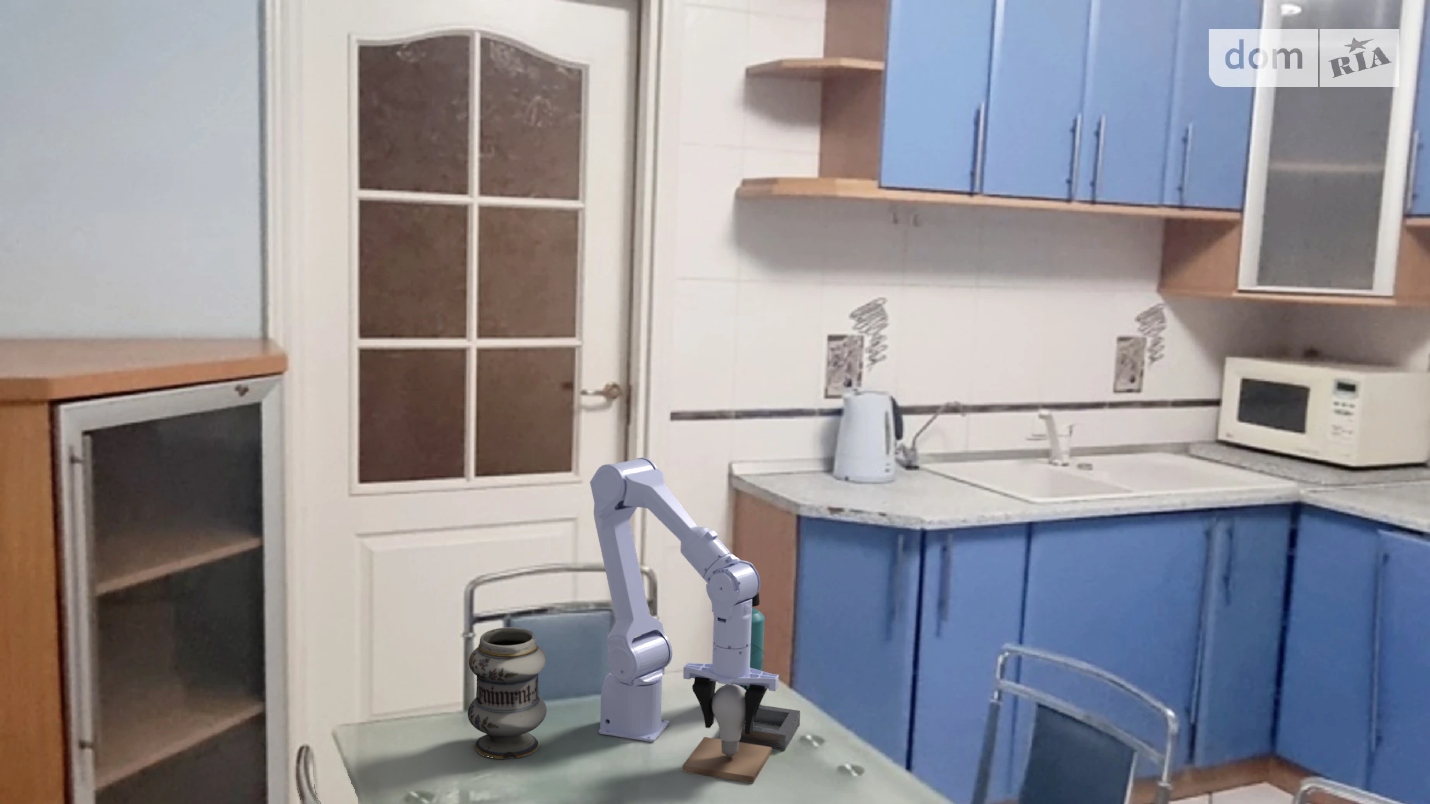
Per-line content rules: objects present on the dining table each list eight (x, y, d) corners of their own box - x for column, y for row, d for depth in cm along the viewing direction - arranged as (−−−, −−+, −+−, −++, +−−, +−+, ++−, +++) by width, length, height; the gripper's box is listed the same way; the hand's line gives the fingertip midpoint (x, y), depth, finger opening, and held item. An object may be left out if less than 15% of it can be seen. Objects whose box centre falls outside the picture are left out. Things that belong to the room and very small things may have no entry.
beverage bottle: (726, 694, 211) (730, 584, 208) (764, 697, 210) (768, 587, 208) (721, 708, 205) (725, 595, 202) (760, 712, 204) (764, 598, 201)
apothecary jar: (475, 767, 180) (475, 652, 177) (461, 735, 191) (461, 626, 188) (554, 757, 184) (555, 644, 182) (536, 726, 195) (537, 619, 193)
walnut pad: (682, 771, 180) (682, 765, 180) (704, 742, 191) (704, 736, 191) (753, 783, 177) (753, 776, 177) (771, 753, 188) (771, 747, 188)
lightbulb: (744, 764, 179) (746, 690, 180) (705, 759, 181) (707, 686, 181) (753, 753, 185) (756, 682, 186) (715, 749, 187) (717, 678, 187)
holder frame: (720, 740, 192) (721, 725, 192) (738, 716, 202) (739, 701, 202) (784, 750, 189) (785, 735, 189) (799, 725, 199) (800, 710, 199)
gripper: (677, 645, 180) (675, 731, 182) (771, 657, 176) (768, 745, 177) (692, 630, 186) (690, 714, 188) (783, 642, 182) (779, 727, 184)
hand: (729, 728), depth 183 cm, fingers closed on lightbulb, 6 cm apart
